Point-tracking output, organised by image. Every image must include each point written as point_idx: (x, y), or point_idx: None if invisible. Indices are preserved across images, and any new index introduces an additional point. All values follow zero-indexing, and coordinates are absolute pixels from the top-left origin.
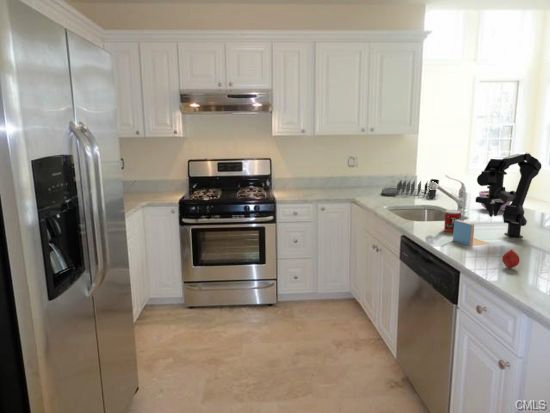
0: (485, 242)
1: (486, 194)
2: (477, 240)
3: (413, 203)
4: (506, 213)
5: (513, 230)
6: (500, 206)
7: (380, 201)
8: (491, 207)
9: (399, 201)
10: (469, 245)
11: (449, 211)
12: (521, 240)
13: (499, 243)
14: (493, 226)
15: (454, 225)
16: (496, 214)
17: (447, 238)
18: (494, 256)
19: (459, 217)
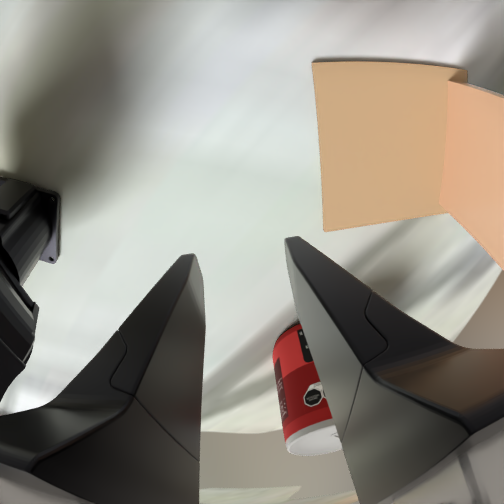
0: (334, 89)
1: None
2: (347, 148)
3: None
4: (5, 343)
5: (19, 211)
6: (98, 392)
7: (254, 497)
8: (441, 339)
9: (214, 497)
10: (466, 82)
11: (339, 441)
12: (29, 115)
13: (229, 57)
14: (62, 362)
15: None
16: (191, 268)
17: (437, 243)
18: None
19: (321, 397)
